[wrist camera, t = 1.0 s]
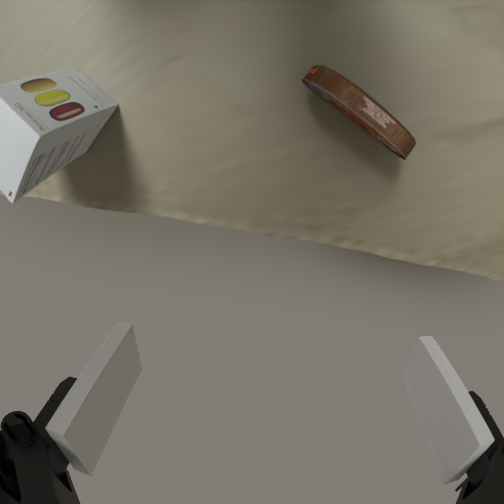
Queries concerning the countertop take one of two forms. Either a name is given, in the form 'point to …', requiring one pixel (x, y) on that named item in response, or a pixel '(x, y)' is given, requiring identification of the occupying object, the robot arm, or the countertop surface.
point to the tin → (360, 109)
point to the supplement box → (47, 126)
